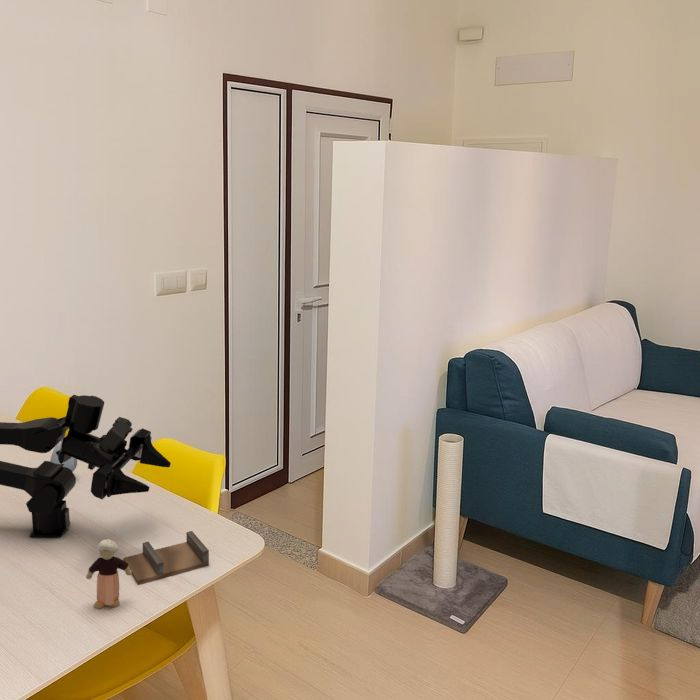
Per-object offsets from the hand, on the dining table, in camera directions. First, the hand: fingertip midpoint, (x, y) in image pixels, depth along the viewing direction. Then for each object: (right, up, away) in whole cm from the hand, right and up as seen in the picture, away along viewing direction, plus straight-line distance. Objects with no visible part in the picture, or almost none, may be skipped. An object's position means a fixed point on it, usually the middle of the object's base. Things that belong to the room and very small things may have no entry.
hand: (159, 476), depth 149 cm
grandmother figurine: (-4, -20, -18) cm, 27 cm away
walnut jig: (+2, -17, -4) cm, 17 cm away
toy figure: (-31, -7, +31) cm, 44 cm away
